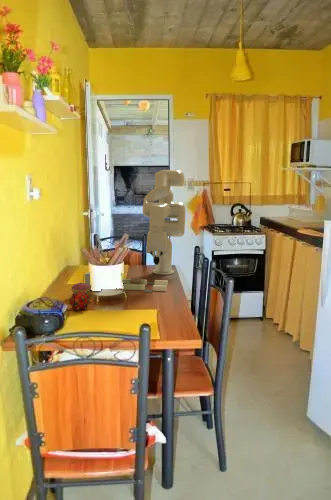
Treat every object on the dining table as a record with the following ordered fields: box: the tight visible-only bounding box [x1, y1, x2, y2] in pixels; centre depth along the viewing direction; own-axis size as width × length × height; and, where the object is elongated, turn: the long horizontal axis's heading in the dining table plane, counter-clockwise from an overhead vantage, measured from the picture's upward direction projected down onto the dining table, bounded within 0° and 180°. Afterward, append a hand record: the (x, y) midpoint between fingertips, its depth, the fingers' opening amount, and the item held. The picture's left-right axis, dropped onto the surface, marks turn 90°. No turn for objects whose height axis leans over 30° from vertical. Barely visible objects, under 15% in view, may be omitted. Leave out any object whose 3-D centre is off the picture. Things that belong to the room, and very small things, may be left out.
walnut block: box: [130, 277, 142, 285], centre depth 218 cm, size 5×5×4 cm
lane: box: [122, 278, 169, 292], centre depth 217 cm, size 12×25×2 cm, turn 87°
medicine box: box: [84, 272, 91, 290], centre depth 208 cm, size 8×4×9 cm, turn 84°
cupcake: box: [71, 272, 91, 294], centre depth 194 cm, size 9×8×12 cm
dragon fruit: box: [69, 291, 92, 312], centre depth 178 cm, size 8×8×12 cm
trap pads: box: [143, 281, 155, 294], centre depth 218 cm, size 21×4×1 cm, turn 177°
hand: (156, 264), depth 217 cm, fingers closed
